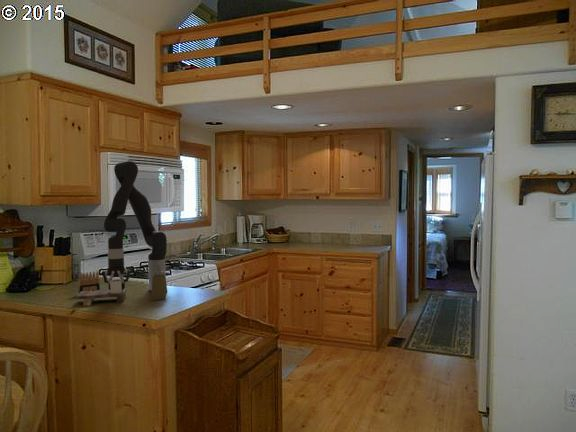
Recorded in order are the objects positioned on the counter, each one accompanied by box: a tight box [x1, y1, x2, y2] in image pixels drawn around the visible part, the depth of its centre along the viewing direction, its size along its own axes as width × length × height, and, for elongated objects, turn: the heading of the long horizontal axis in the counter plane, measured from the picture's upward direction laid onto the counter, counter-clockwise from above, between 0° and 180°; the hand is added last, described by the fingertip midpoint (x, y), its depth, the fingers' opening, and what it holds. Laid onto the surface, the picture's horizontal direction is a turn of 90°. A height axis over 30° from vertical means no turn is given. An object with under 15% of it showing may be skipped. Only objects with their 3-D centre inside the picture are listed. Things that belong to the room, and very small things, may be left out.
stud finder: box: [110, 277, 123, 294], centre depth 222 cm, size 5×9×6 cm, turn 15°
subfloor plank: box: [75, 288, 127, 307], centre depth 221 cm, size 22×16×5 cm
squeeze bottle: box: [150, 264, 168, 301], centre depth 224 cm, size 8×8×18 cm
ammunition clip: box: [78, 270, 101, 294], centre depth 239 cm, size 11×2×12 cm, turn 129°
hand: (116, 290), depth 223 cm, fingers closed on stud finder, 5 cm apart
